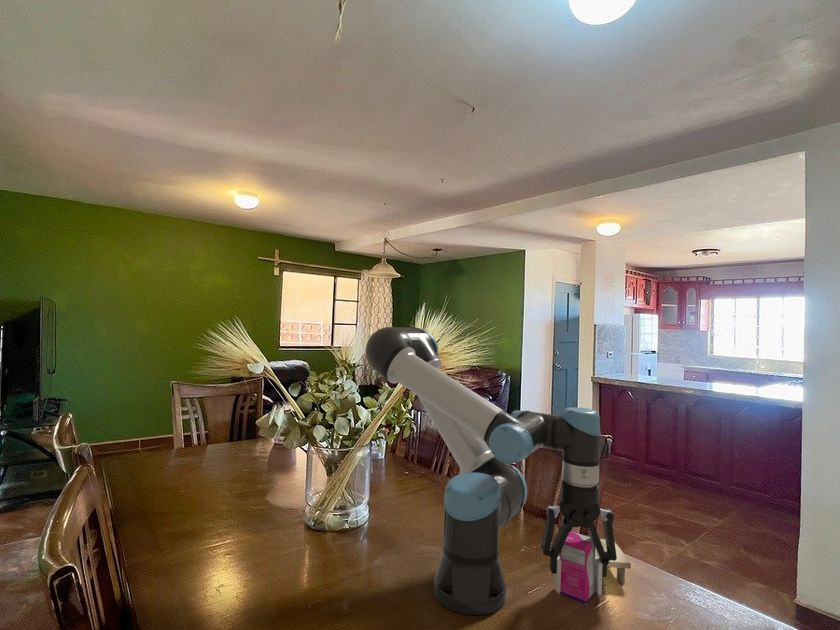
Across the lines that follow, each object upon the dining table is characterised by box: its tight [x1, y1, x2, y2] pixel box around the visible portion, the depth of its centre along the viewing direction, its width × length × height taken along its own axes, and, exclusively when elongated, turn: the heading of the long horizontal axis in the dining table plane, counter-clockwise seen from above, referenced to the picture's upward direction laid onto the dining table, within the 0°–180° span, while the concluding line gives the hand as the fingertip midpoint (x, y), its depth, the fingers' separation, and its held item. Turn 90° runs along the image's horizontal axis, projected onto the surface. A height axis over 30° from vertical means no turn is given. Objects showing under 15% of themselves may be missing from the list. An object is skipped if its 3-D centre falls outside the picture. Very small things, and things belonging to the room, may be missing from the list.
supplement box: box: [559, 530, 596, 605], centre depth 96 cm, size 6×6×12 cm
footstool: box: [595, 538, 632, 585], centre depth 106 cm, size 11×11×5 cm
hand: (577, 589), depth 96 cm, fingers closed on supplement box, 8 cm apart
